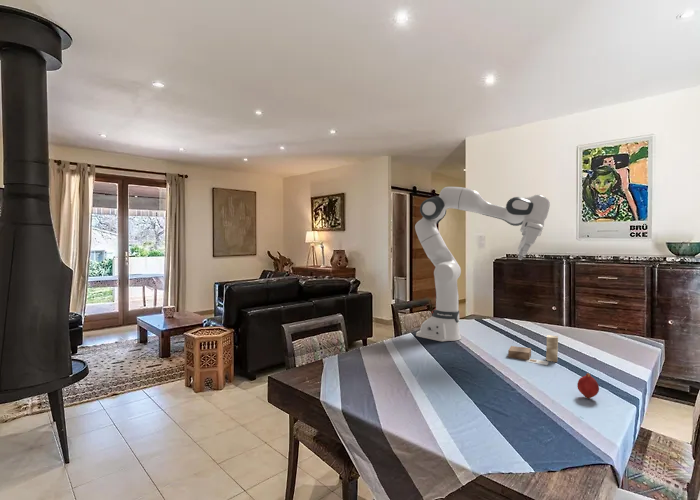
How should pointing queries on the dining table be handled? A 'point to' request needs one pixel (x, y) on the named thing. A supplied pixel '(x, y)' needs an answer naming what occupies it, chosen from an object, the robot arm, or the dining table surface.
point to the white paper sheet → (537, 361)
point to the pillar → (552, 348)
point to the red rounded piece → (588, 386)
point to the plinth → (519, 352)
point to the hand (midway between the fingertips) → (521, 257)
